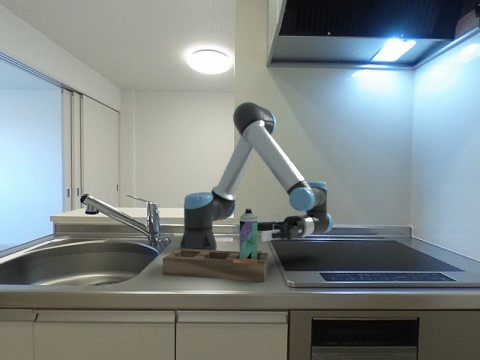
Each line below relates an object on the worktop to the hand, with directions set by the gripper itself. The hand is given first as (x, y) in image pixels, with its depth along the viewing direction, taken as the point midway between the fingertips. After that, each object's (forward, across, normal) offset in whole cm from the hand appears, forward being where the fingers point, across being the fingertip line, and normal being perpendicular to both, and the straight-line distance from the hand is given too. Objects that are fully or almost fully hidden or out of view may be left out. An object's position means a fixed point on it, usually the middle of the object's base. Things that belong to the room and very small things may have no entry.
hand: (248, 232), depth 84 cm
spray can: (0, 0, -13) cm, 13 cm away
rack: (+7, +7, -13) cm, 16 cm away
